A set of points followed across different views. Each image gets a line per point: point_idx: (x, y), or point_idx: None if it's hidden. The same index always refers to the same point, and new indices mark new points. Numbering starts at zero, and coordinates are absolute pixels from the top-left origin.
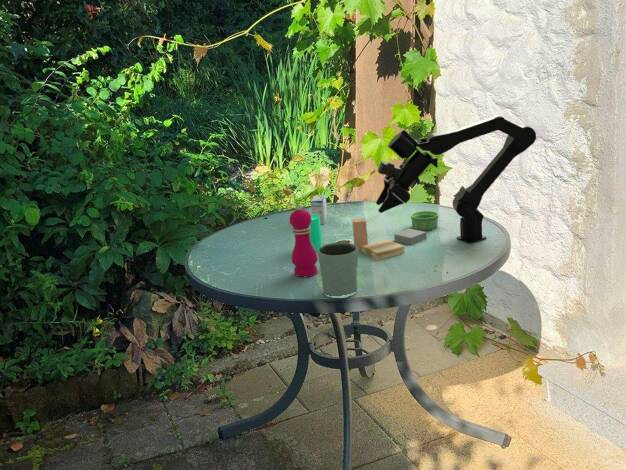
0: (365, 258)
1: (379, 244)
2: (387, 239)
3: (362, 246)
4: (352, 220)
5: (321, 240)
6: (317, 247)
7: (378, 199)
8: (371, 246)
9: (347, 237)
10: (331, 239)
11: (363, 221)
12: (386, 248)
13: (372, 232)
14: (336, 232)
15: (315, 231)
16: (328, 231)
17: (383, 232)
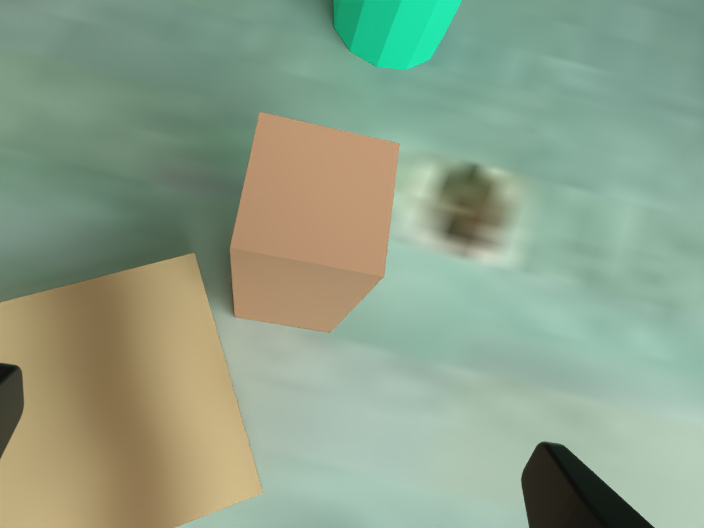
0: (45, 251)
1: (156, 390)
2: (259, 490)
3: (189, 254)
4: (334, 129)
5: (383, 20)
6: (341, 11)
7: (575, 499)
8: (138, 315)
9: (554, 251)
10: (542, 155)
11: (237, 219)
12: None
13: (617, 439)
14: (670, 214)
15: None
16: (698, 177)
17: None
